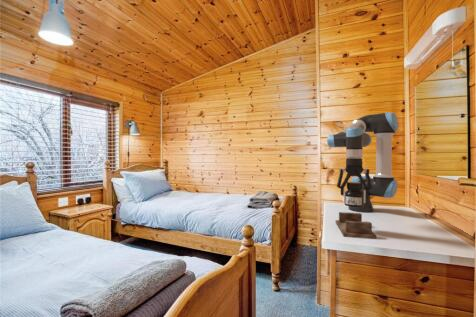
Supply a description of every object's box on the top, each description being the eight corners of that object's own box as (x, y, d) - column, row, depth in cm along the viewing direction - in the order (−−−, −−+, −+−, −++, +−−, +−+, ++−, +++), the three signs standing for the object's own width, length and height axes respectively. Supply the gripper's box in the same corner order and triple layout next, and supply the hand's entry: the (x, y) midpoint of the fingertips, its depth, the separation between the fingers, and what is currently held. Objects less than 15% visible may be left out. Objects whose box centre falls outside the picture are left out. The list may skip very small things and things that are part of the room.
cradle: (362, 224, 130) (362, 212, 129) (376, 238, 108) (376, 224, 108) (335, 222, 133) (335, 211, 133) (343, 236, 111) (343, 222, 111)
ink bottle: (340, 205, 120) (340, 182, 120) (347, 202, 126) (347, 180, 126) (360, 208, 113) (361, 184, 113) (367, 205, 119) (367, 182, 119)
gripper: (333, 158, 118) (332, 202, 119) (380, 158, 113) (379, 204, 114) (330, 157, 125) (330, 199, 126) (374, 157, 121) (374, 201, 121)
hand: (353, 202), depth 120 cm, fingers closed on ink bottle, 9 cm apart
